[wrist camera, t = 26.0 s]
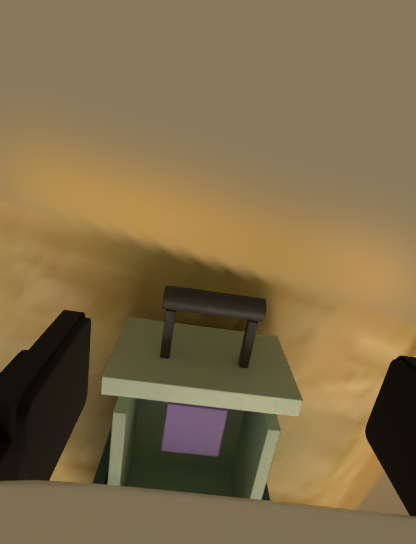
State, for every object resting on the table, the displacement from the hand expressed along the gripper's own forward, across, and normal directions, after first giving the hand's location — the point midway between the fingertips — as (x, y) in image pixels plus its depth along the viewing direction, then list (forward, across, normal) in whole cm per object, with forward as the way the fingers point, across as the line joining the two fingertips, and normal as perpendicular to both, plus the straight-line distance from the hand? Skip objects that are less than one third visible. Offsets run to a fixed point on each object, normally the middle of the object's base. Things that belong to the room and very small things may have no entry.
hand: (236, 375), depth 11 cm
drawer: (+15, 0, +11) cm, 18 cm away
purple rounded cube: (+13, 0, +11) cm, 18 cm away
